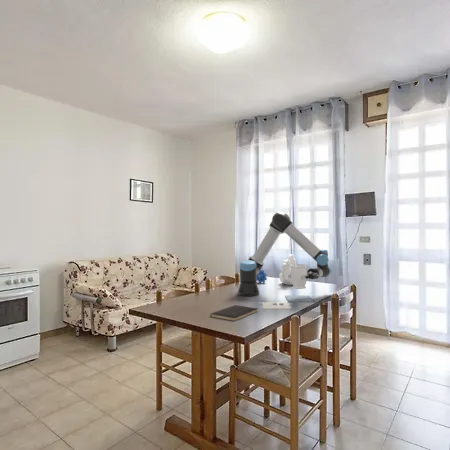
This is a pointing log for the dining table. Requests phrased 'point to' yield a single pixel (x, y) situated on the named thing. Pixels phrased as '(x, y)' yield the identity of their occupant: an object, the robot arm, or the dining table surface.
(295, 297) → the mat
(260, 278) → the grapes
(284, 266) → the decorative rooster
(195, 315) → the dining table surface
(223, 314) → the hardcover book
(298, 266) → the jar
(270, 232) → the robot arm
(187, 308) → the dining table surface
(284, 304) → the tile
